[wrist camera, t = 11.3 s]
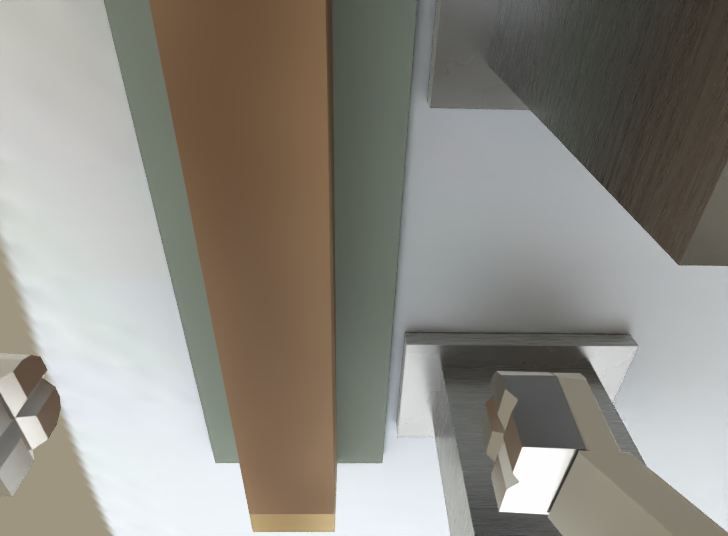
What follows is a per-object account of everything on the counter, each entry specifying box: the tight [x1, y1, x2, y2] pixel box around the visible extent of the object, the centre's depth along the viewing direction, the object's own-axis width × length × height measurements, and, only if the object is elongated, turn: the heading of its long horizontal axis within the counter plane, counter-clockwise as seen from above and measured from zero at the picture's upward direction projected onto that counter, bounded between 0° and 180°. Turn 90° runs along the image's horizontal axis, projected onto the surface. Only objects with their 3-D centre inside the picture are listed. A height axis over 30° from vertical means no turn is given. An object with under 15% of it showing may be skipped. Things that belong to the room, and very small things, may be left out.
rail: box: [149, 0, 337, 532], centre depth 13 cm, size 3×21×3 cm, turn 179°
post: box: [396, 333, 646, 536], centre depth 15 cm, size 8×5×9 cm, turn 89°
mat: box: [104, 0, 417, 463], centre depth 15 cm, size 7×22×1 cm, turn 179°
